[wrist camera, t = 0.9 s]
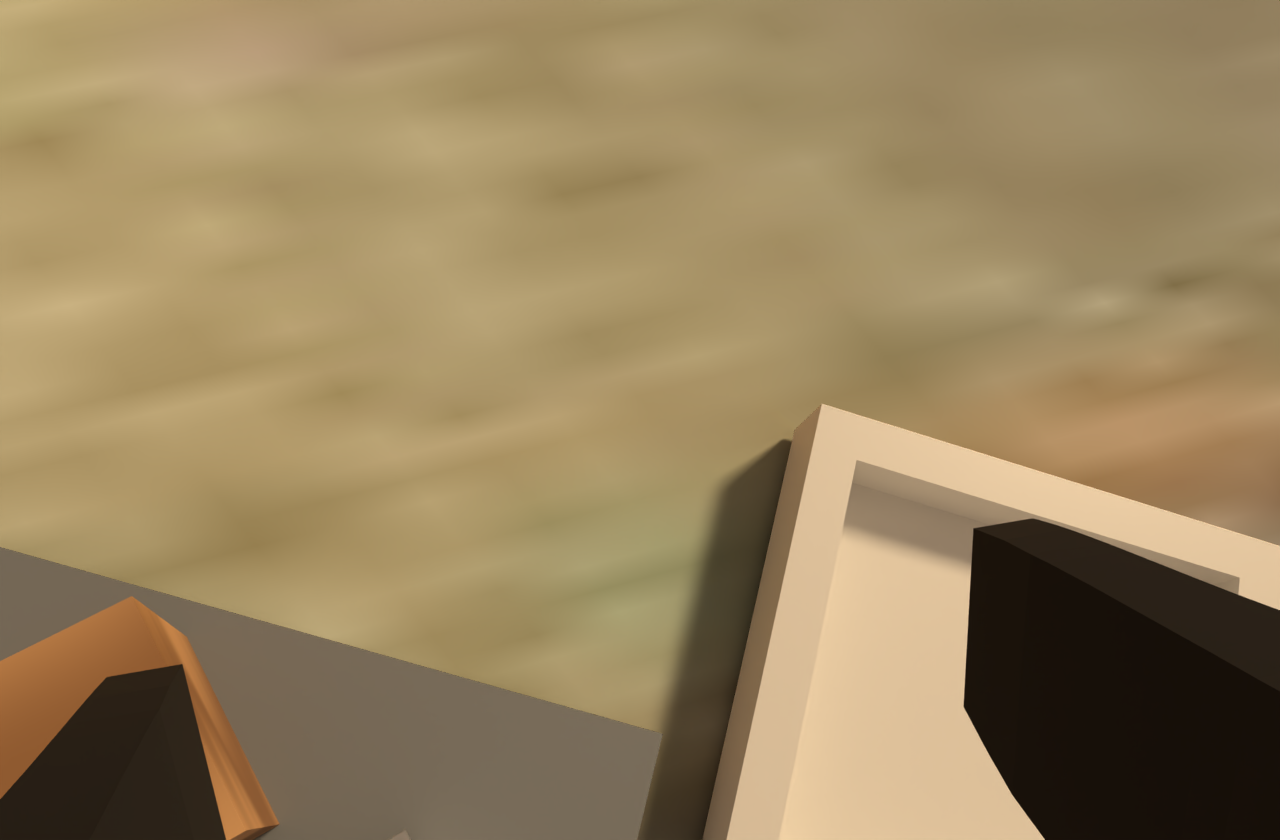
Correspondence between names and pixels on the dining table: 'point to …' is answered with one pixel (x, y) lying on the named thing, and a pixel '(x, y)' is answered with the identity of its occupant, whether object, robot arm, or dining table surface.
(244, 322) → the dining table surface
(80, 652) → the block
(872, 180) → the dining table surface
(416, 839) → the crank base
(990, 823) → the tray
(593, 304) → the dining table surface
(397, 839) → the crank
